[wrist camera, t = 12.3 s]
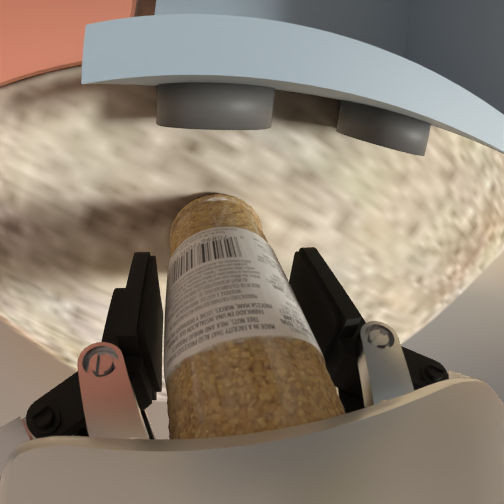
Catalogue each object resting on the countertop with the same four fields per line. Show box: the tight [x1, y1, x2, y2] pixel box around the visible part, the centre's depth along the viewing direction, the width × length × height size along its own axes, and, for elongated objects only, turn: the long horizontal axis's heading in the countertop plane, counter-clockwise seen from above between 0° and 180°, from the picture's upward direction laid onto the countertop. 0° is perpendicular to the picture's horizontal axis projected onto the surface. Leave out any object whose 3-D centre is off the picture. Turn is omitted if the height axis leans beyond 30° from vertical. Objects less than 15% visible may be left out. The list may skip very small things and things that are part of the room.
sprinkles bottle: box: [164, 194, 346, 439], centre depth 8 cm, size 5×5×13 cm
